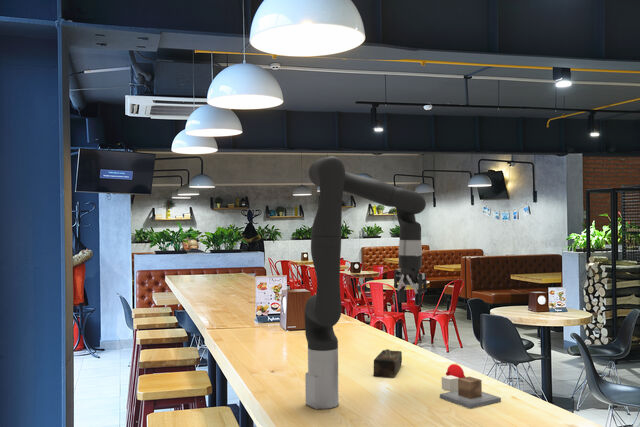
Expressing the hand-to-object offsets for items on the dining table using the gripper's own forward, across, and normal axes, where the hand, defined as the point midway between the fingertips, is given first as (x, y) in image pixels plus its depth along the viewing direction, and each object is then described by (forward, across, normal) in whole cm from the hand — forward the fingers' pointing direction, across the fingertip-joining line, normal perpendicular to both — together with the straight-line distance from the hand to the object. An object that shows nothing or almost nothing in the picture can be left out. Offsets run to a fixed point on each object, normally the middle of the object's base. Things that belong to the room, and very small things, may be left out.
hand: (409, 303), depth 196 cm
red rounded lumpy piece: (+28, -1, +21) cm, 35 cm away
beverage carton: (+29, -26, +11) cm, 41 cm away
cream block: (+28, +4, +14) cm, 32 cm away
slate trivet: (+28, +16, +11) cm, 34 cm away
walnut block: (+27, +16, +11) cm, 33 cm away
